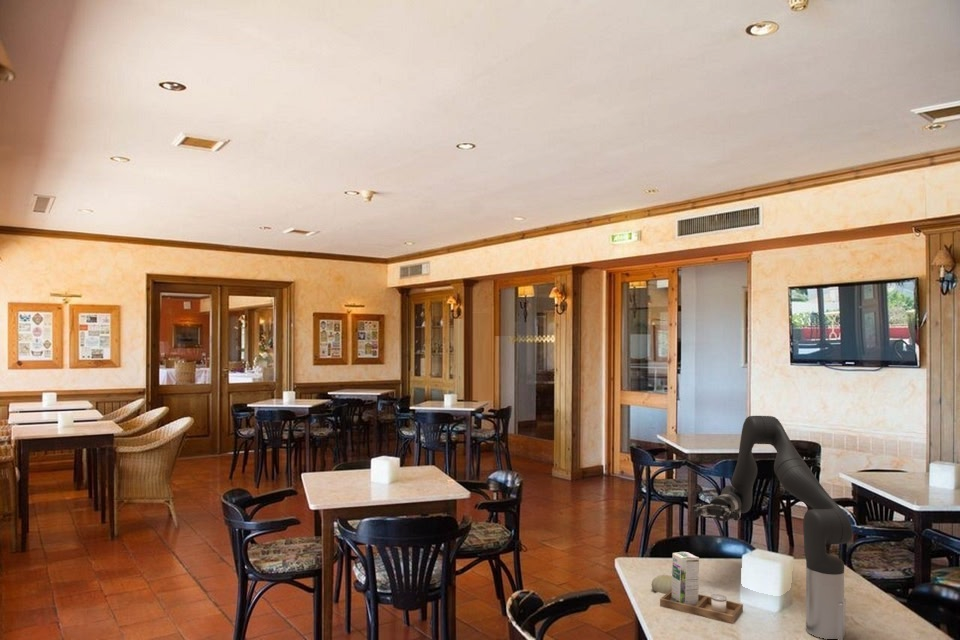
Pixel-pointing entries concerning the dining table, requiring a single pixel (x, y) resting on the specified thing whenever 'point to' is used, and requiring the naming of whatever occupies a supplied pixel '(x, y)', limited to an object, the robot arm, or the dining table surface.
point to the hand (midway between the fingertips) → (710, 515)
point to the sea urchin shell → (662, 583)
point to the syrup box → (685, 578)
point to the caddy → (704, 608)
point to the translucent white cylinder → (718, 603)
